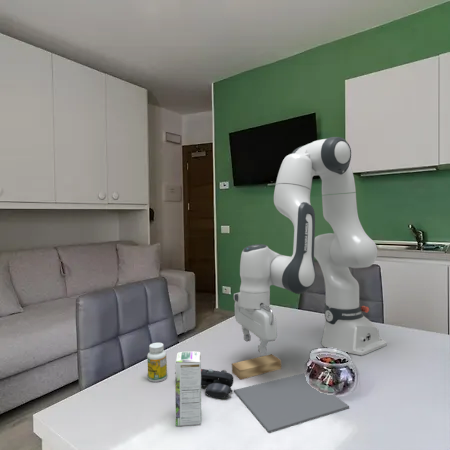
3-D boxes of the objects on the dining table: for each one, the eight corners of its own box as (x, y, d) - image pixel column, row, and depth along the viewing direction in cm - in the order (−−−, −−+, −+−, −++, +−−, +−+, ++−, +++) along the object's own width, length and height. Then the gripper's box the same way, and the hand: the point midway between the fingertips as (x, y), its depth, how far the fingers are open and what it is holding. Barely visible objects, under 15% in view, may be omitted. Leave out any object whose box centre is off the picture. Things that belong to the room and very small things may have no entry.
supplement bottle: (170, 376, 96) (170, 343, 96) (157, 384, 92) (156, 350, 92) (157, 371, 99) (156, 340, 99) (143, 379, 95) (143, 346, 95)
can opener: (238, 389, 89) (238, 368, 89) (226, 403, 83) (226, 380, 83) (183, 375, 97) (183, 356, 97) (168, 387, 91) (168, 366, 91)
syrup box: (177, 411, 79) (175, 351, 79) (201, 410, 80) (200, 350, 79) (175, 427, 73) (174, 362, 73) (202, 425, 74) (201, 360, 73)
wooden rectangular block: (271, 363, 104) (271, 354, 104) (281, 370, 100) (281, 360, 100) (232, 373, 98) (231, 363, 98) (240, 381, 94) (240, 370, 94)
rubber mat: (303, 374, 96) (303, 373, 96) (349, 408, 79) (349, 406, 79) (234, 391, 87) (234, 389, 87) (268, 433, 71) (268, 430, 71)
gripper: (282, 307, 90) (282, 358, 90) (248, 291, 109) (248, 333, 109) (262, 309, 87) (261, 362, 88) (231, 293, 106) (230, 336, 107)
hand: (254, 346), depth 98 cm, fingers open, 8 cm apart
